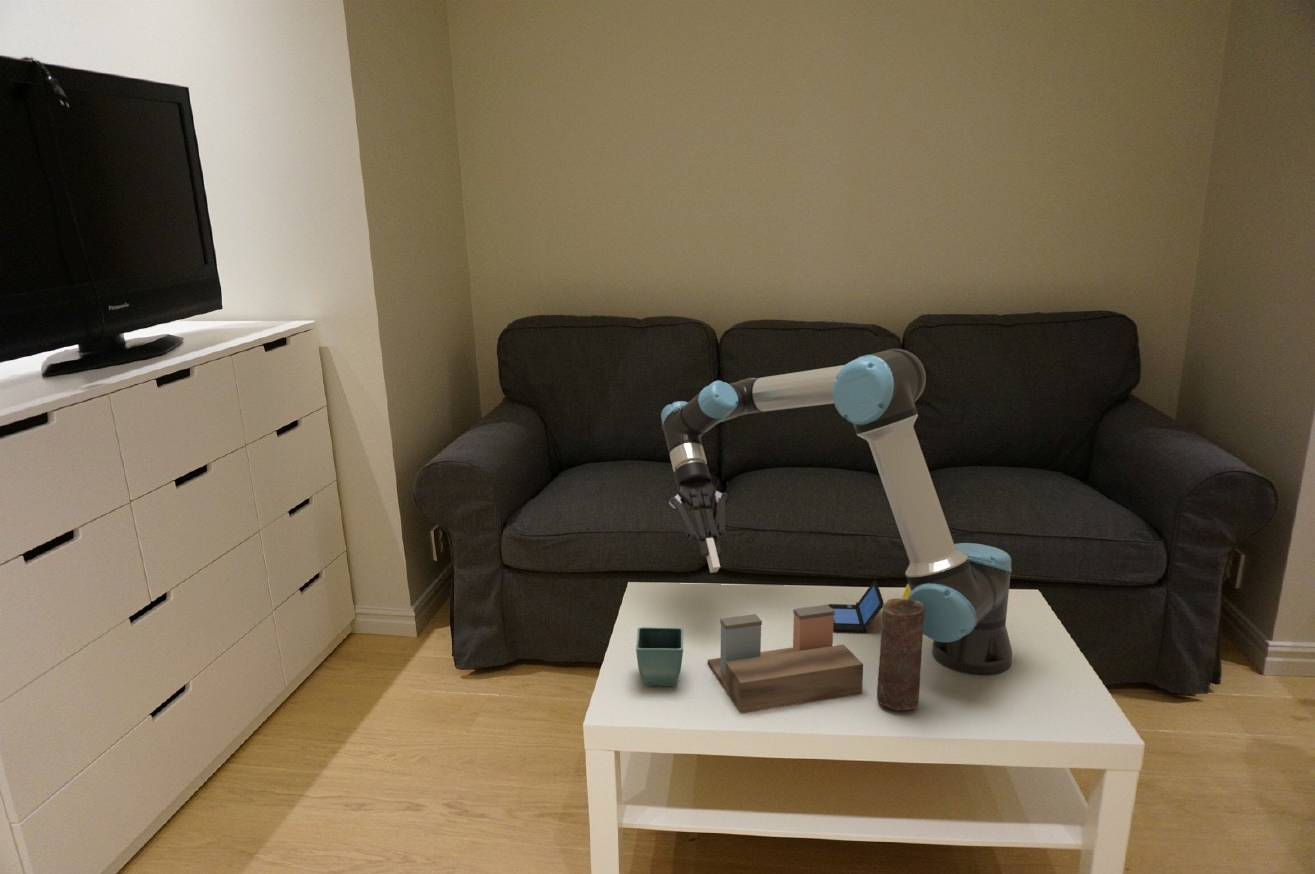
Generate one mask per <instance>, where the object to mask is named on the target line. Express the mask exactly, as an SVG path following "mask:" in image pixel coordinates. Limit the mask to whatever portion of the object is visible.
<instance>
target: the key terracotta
mask: <svg viewBox="0 0 1315 874" xmlns="http://www.w3.org/2000/svg"><path fill="white" fill-rule="evenodd" d="M792 612H793V631H792V632H793V637H792V647H793V652H796V651H803V650H809V649H816V648H823V647H830V646H834V644H833V643H834V640H833V639H834V632H833V623H834V615H835V611H834V610H833V609H832V608H831V607H830V606H828V604H821V605H820V604H819V605H815V606H813V605H812V606H806V607H800V608H798V607H797V608H793V610H792Z"/></svg>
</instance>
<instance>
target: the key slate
mask: <svg viewBox="0 0 1315 874" xmlns="http://www.w3.org/2000/svg"><path fill="white" fill-rule="evenodd" d="M719 621H720V622H719V623H720V658H721V659H720V669H721V671H722V672H723V674H724V675H725V669H726V662H727V661H734V660H741V659H748V658H755V657H760V654H761V652H762V651H761V650H762V648H761V646H762V626H763V625H762V624H763V620H762V619H761V618H760V617H759V616H758V615H757V613H751V614H744V615H737V616H729V617H723V618H720V619H719Z"/></svg>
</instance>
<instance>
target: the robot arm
mask: <svg viewBox="0 0 1315 874" xmlns="http://www.w3.org/2000/svg"><path fill="white" fill-rule="evenodd" d="M926 374H927V373H926V370H925V368H924V365H923V363H922V362H921V360H920V359H919V358H918V356H916V355H915V354H914V353H913V352H909V351H908V350H905V349H901V348H890V349H886V350H882V351H879V352H874V353H871V354H865V355H863V356H859V357H857V358H855V359H854V360H851V361H849V362H848V363H846V364H844V365H843V364H842V365H837V366H830V367H823V368H817V369H815V368H814V369H811V370H803V371H797V372H790V373H785V374H784V373H783V374H777V375H770V376H763V377H758V378H756V377H749V378H743V379H740V380H738V381H735V382H732V383H727V382H724V381H722V380H715V381H713V382H711V383H710V384H709V385H707V386H705V387H703V388H702V390H701V391H700V392H699V393H698V394H696V395H695V396H694V397H693V398H692V399H690V400H689V401H688V402H687V401H684V400H681V401H680V400H679V401H674V402H672V403H670V404H667V405H666V406H665V407H664V408H663V409H662V410H661V413H660V418H661V424H662V427H661V428H662V431H663V434H664V437H665V441H666V446H667V449H668V453H669V457H670V462H671V466H672V470H673V472H674V473H673V475H674V480H675V484H676V488H677V492H676V495H675V496H671V498H670V499H669V502H668V506H669V508H670V509H671V510H672V511H673V512H674V513H675V515H676V517H677V519H678V521H679V523H680V525H681V527H682V529H683V531H684V533H685V535H686V537H687V539H688V541H689V542H696V544H697V545H698V546H699V550H700V553H701V554H700V555H701V557H703V558H705V557H706V561H707V565H708V569H709V572H710V573H711V574H712V573H717V572H718V571H719V569H720V568H721V565H720V559H719V557H718V556H719V555H720V554H721V546H720V543H719V539H722V538H723V536H724V534H725V533H726V505H725V504H726V500H727V498H728V493H727V492H726V491H724V492H720V491H718V490H717V488H716V487H715V486H714V484H713V482H712V476H711V474H710V470H709V466H708V465H707V464H708V462H707V458H706V454H705V450H704V446H703V442H702V439H701V437H702V436H703V435H704V434H706V433H707V432H708V431H710V430H711V429H712V428H714V427H715V426H716V425H718V424H720V423H722V422H725V421H729V420H732V419H734V418H738V417H740V416H744V415H747V414H755V413H756V414H757V413H763V412H771V411H781V410H786V409H788V410H789V409H797V408H803V407H804V408H805V407H814V406H815V407H816V406H822V405H831V404H834V407H835V409H836V410H837V412H838V413H839V415H840V416H841V417H843V418H845V419H846V421H848V422H849V423H851V424H853V427H854V431H855V433H856V436H857V437H860V438H861V439H863V440H865V441H866V442H867V443H868V445H869V448H870V451H871V454H872V456H873V460H874V463H875V465H876V468H877V470H878V471H877V472H878V474H879V477H880V479H881V483H882V486H883V489H884V491H885V494H886V497H887V499H888V502H889V505H890V508H891V511H892V514H893V517H894V520H895V523H896V526H897V529H898V531H899V534H900V537H901V540H902V543H903V546H904V549H905V552H906V555H907V557H908V561H909V565H908V566H907V569H906V570H905V574H904V575H905V576H906V577H905V578H906V581H907V584H909V586H910V589H911V592H910V594H909V596H908V599H911V600H915V601H919V602H922V603H923V605H924V607H925V611H924V624H923V636H925V637H927V638H929V639H930V640H932V648H931V652H932V653H931V654H932V655H933V657H934V659H936V661H937V662H938V663H940V664H942V665H943V666H945V667H947V668H950V669H951V670H955V671H957V672H961V673H965V674H970V675H981V676H982V675H984V676H985V675H986V676H987V675H997V674H1000V673H1003V672H1005V671H1007V670H1008V669H1009V668H1010V667H1011V666H1012V662H1013V648H1012V643H1011V640H1010V637H1009V633H1008V631H1007V625H1006V624H1007V613H1008V604H1009V593H1010V585H1011V584H1010V583H1011V574H1012V571H1013V570H1012V558H1011V556H1010V555H1009V553H1008V552H1006V551H1004V550H1003V549H1000V548H998V547H994V546H991V545H986V544H981V543H972V542H960V543H959V542H958V543H954V540H953V538H952V534H951V531H950V528H949V526H948V523H947V520H946V517H945V514H944V512H943V509H942V506H941V505H942V504H941V503H940V500H939V497H938V494H937V491H936V488H935V485H934V483H933V480H932V477H931V473H930V471H929V468H928V465H927V463H926V459H925V457H924V454H923V451H922V448H921V445H920V442H919V439H918V437H917V434H916V431H915V427H914V426H915V423H916V420H917V419H918V417H919V415H918V411H917V409H916V405H915V402H916V401H917V400H918V399H919V398H920V397H921V396H922V394H923V392H924V390H925V387H926V381H927V379H926V378H927V377H926ZM714 498H715V500H714V501H715V503H716V504H717V505H716V523H715V520H714V515H713V511H712V504H711V502H712V501H713V499H714ZM682 503H683V504H682ZM684 505H685V506H686V507H687V508H688V509H689V514H690V516H691V519H690V518H689V515H688V514H687V512H686V510H685V507H684ZM700 510H701V512H700ZM701 514H702V516H703V519H704V523H703V519H702V516H701ZM691 520H692V522H691ZM704 524H705V525H704ZM704 526H705V527H704ZM705 528H706V532H707V535H706V532H705Z"/></svg>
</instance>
